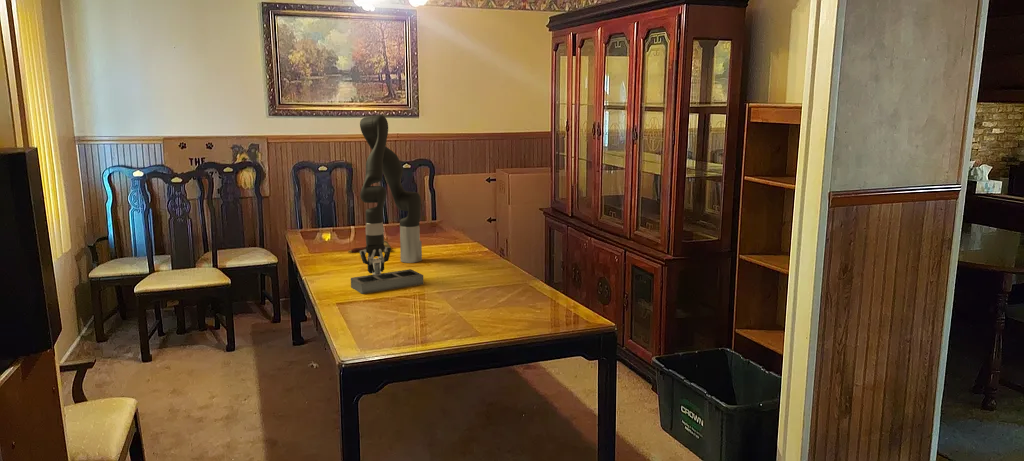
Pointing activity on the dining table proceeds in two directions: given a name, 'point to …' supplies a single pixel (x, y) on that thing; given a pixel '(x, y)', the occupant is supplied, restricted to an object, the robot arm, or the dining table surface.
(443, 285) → the dining table surface
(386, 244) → the gavel
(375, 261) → the milkshake
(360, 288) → the three-window grey frame
